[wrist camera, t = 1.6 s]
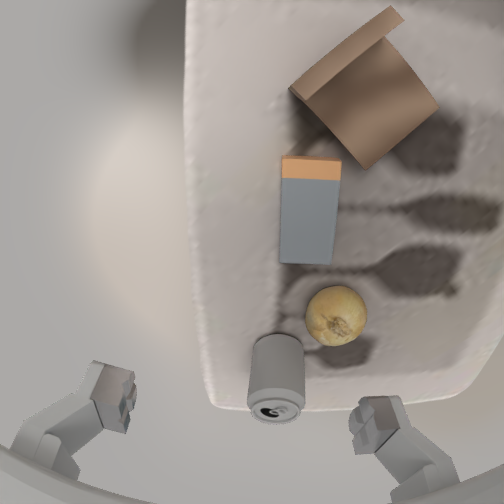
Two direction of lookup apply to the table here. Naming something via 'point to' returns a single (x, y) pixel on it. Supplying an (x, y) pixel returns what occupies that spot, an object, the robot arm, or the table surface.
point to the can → (277, 380)
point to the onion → (336, 315)
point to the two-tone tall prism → (309, 208)
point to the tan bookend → (367, 91)
